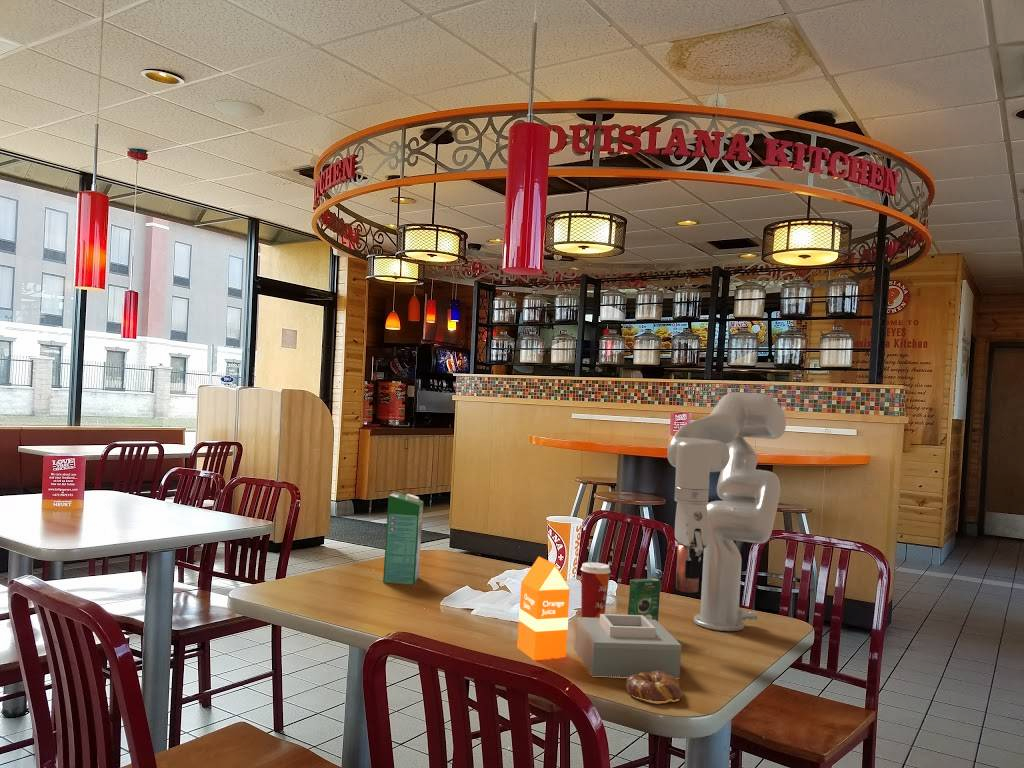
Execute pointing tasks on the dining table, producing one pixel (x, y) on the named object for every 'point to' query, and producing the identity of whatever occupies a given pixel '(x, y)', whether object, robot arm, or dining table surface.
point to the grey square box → (626, 646)
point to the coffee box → (644, 598)
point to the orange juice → (543, 612)
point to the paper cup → (594, 589)
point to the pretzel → (653, 686)
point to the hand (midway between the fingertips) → (687, 574)
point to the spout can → (681, 581)
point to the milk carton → (403, 539)
